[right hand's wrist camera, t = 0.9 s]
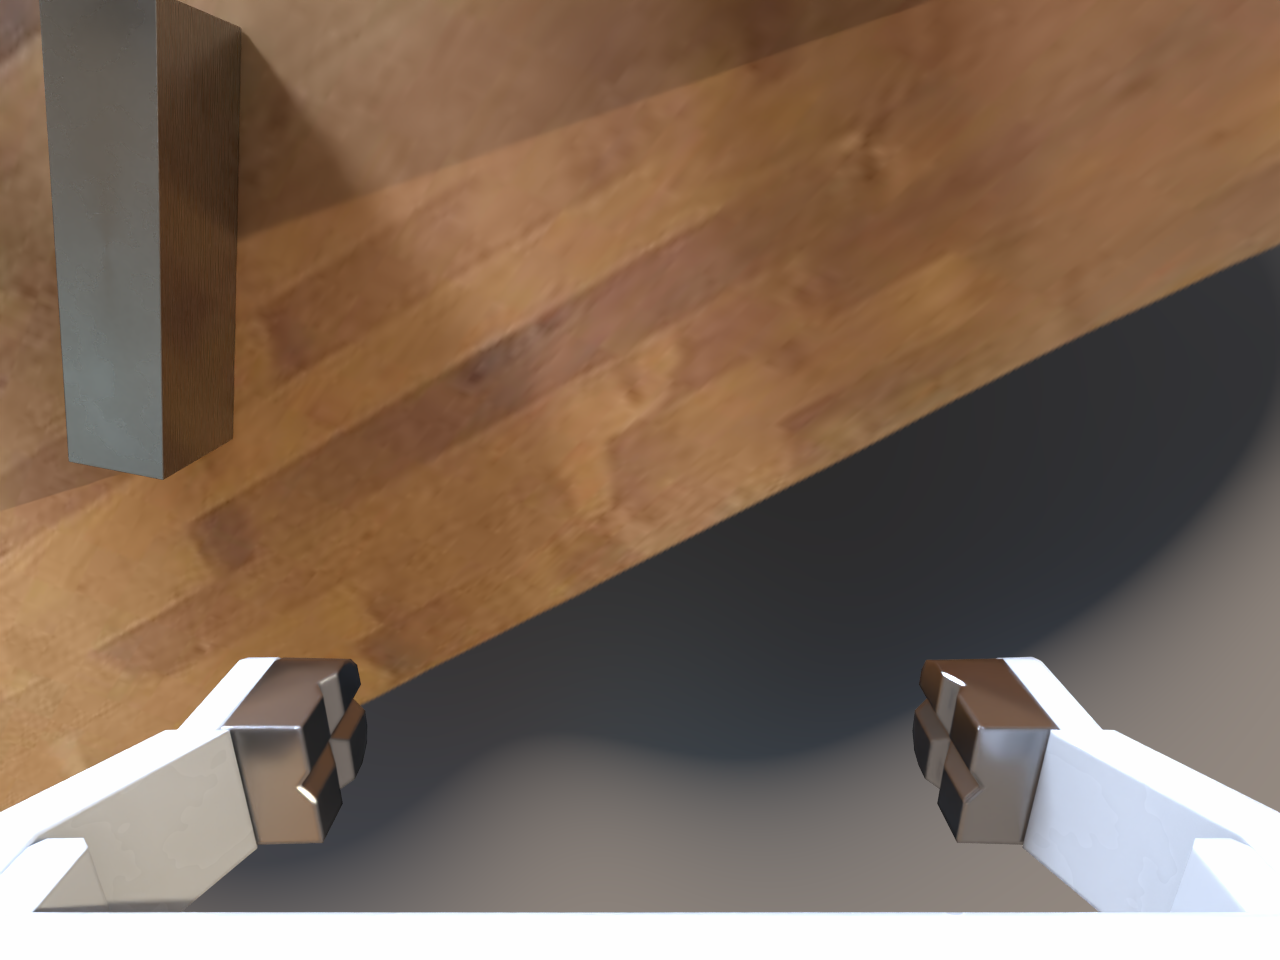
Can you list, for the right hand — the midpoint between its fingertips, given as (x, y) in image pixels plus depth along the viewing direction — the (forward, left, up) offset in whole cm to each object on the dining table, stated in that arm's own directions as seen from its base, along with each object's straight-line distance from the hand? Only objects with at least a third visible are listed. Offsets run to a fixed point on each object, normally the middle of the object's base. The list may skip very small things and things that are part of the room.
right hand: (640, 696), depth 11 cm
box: (-5, -30, -44) cm, 53 cm away
